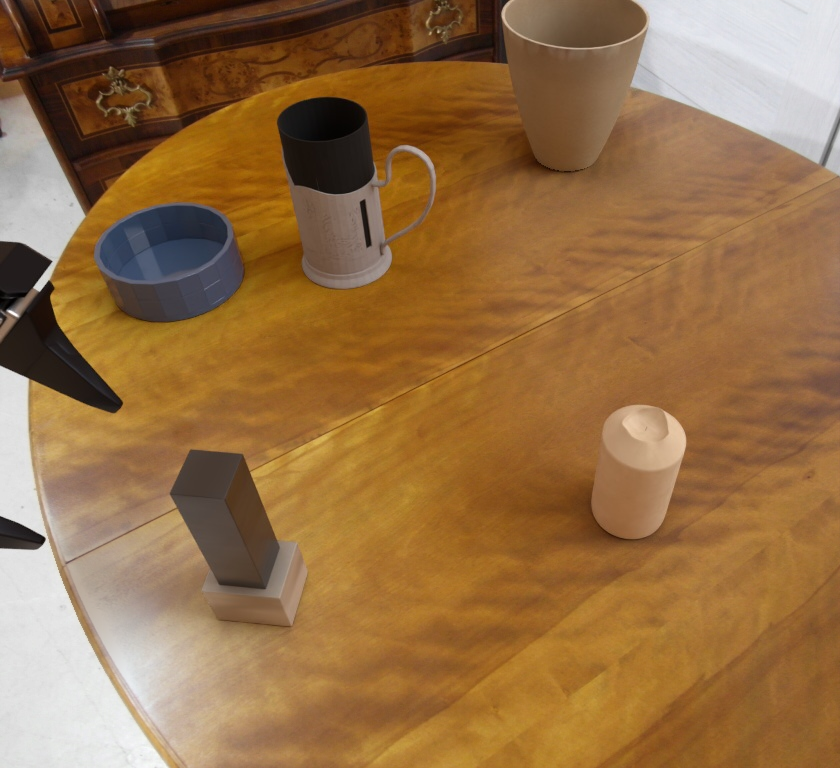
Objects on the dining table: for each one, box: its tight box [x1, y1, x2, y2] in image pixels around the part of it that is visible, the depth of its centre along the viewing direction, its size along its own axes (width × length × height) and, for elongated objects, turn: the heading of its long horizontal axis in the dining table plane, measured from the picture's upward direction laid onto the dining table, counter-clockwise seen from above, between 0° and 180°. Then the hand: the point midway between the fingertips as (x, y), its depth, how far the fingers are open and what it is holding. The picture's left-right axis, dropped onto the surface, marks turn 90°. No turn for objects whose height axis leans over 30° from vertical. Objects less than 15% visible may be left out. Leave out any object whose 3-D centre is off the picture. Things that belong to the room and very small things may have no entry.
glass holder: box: [276, 96, 437, 290], centre depth 70 cm, size 9×14×15 cm, turn 73°
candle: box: [590, 404, 687, 540], centre depth 53 cm, size 6×6×10 cm
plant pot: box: [500, 0, 651, 172], centre depth 84 cm, size 15×15×16 cm
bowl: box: [93, 201, 245, 323], centre depth 72 cm, size 12×12×4 cm
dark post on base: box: [169, 448, 309, 627], centre depth 47 cm, size 5×4×14 cm
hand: (83, 471), depth 43 cm, fingers open, 9 cm apart
